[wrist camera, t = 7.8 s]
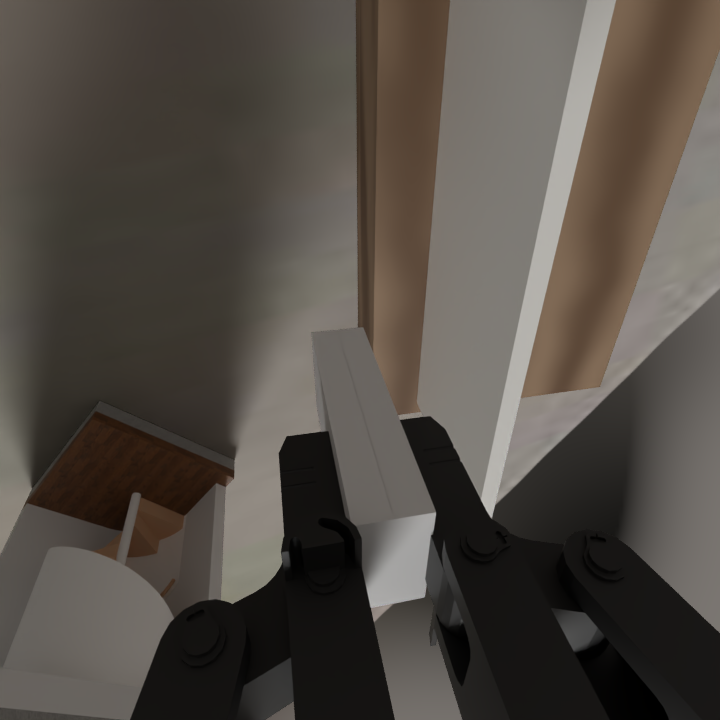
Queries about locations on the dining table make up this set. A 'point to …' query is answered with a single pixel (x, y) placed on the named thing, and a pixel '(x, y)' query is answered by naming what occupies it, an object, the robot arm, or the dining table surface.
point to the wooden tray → (587, 195)
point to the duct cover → (500, 208)
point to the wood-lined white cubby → (106, 566)
